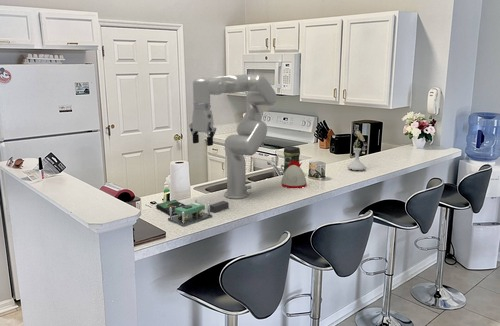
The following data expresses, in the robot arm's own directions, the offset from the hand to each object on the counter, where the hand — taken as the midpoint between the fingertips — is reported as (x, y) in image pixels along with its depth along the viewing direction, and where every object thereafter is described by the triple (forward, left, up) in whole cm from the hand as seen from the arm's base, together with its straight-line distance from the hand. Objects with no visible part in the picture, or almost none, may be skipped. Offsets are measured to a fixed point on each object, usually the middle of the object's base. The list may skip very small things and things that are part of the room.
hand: (202, 144), depth 201 cm
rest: (-2, +8, -30) cm, 31 cm away
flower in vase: (-118, +15, -31) cm, 123 cm away
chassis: (+15, +8, -30) cm, 35 cm away
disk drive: (+12, -8, -31) cm, 34 cm away
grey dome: (-60, +8, -31) cm, 68 cm away
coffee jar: (-75, -5, -31) cm, 81 cm away
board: (+15, +8, -27) cm, 32 cm away
